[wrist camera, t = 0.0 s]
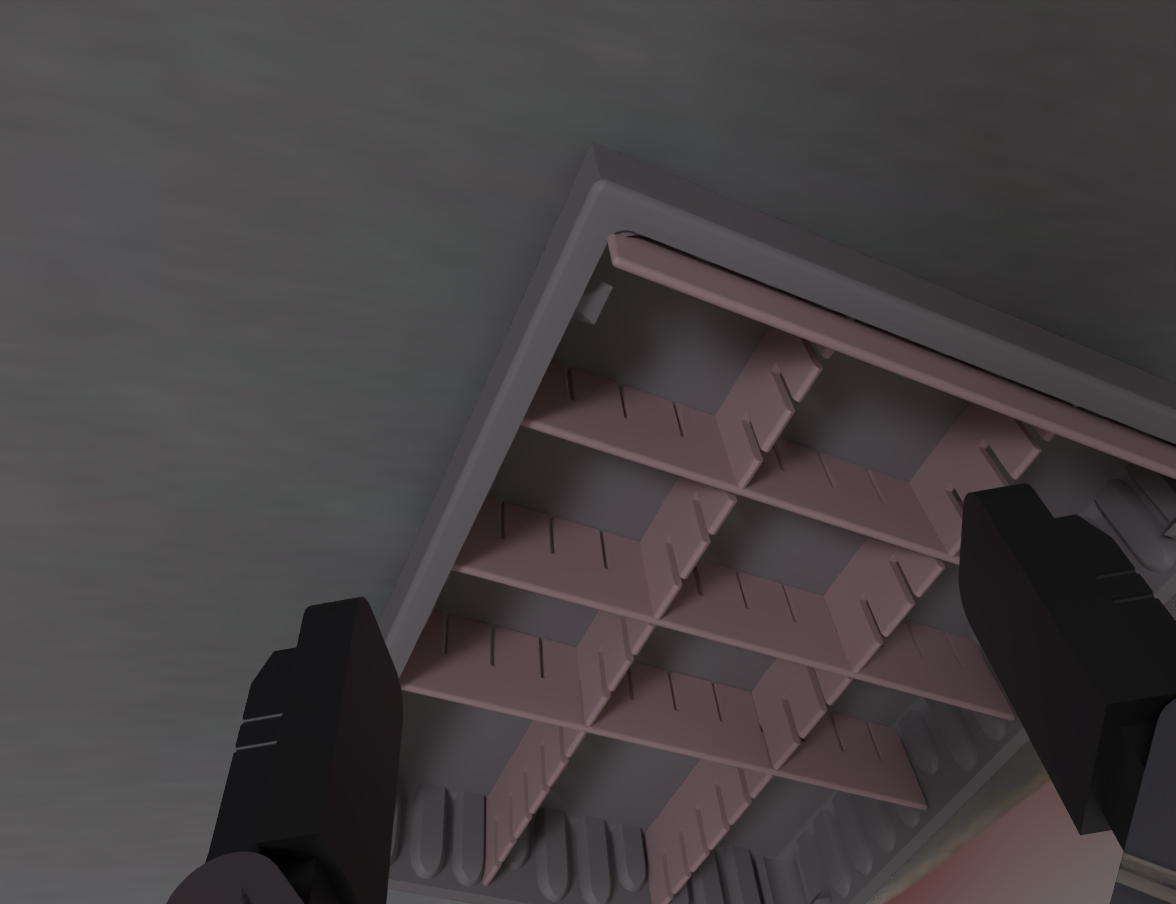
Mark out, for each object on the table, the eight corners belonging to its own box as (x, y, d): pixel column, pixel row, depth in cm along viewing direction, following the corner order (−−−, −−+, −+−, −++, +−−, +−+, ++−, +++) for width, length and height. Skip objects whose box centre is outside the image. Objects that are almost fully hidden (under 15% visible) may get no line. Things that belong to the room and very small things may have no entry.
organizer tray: (304, 746, 59) (274, 908, 51) (580, 102, 39) (602, 201, 31) (778, 845, 69) (816, 995, 61) (1199, 365, 48) (1340, 495, 40)
